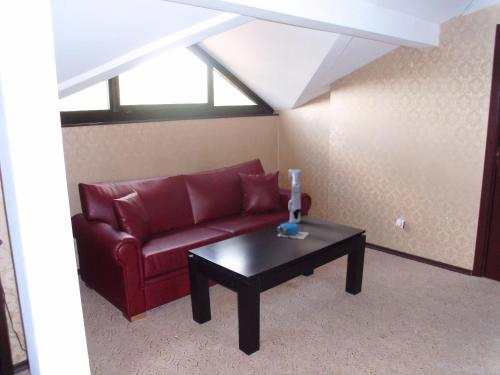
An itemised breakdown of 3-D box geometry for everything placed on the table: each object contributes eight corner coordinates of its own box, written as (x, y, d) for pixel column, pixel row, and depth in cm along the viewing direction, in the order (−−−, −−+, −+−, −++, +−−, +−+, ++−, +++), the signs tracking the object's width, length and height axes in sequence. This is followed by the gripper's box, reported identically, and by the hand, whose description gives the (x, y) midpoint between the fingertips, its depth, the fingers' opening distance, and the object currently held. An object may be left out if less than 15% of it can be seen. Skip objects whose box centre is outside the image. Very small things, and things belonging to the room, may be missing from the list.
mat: (283, 230, 312) (283, 230, 312) (309, 233, 304) (309, 233, 303) (277, 236, 299) (277, 235, 299) (303, 239, 291) (303, 238, 291)
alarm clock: (289, 229, 314) (274, 233, 304) (289, 221, 312) (274, 225, 303) (301, 233, 304) (287, 237, 294) (301, 225, 302) (287, 229, 293)
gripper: (294, 198, 311) (294, 215, 314) (288, 202, 298) (288, 220, 301) (303, 199, 308) (303, 216, 311) (297, 203, 295) (297, 221, 298)
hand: (296, 218), depth 306 cm, fingers closed
